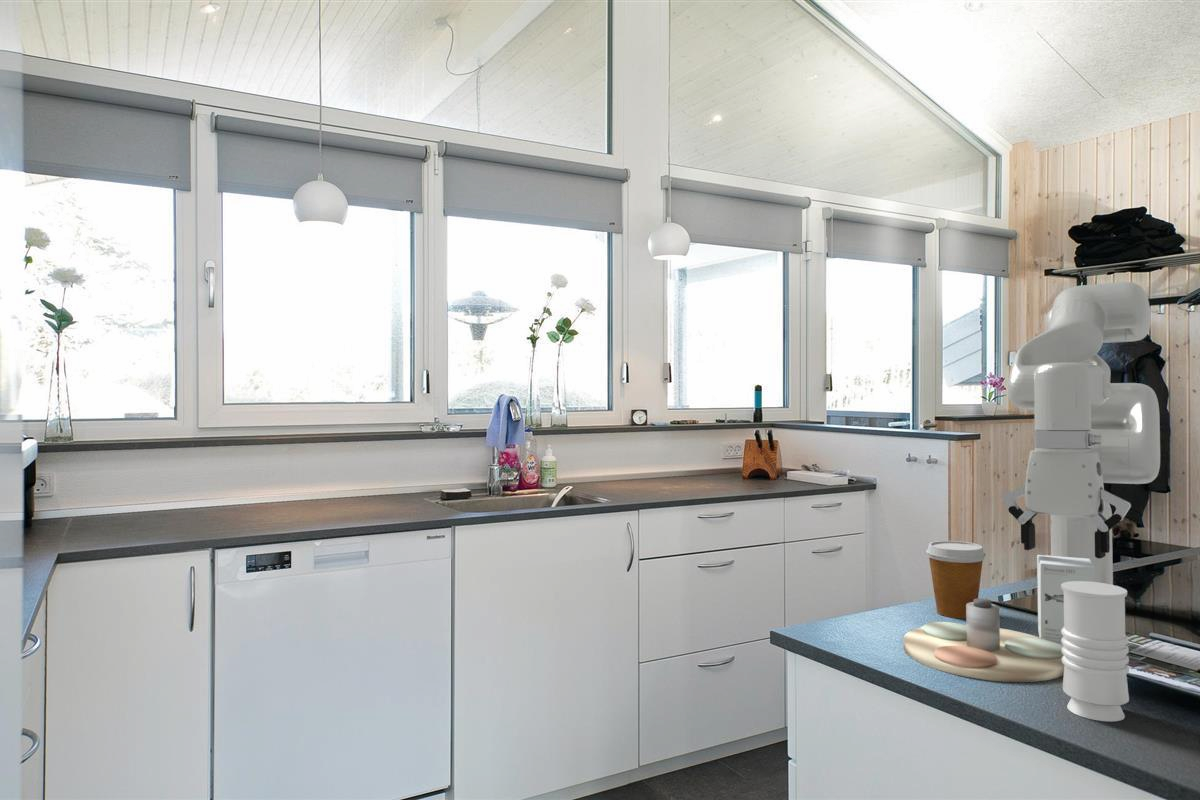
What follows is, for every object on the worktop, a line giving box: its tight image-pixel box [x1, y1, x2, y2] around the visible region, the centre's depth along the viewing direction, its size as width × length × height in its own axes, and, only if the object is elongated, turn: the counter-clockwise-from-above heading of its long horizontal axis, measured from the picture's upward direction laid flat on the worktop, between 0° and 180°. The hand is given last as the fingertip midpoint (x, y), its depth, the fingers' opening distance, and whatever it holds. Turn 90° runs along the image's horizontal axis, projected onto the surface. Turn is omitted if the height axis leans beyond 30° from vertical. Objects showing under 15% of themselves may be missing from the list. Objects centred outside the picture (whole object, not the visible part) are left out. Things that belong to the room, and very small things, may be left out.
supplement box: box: [1036, 554, 1095, 646], centre depth 119 cm, size 7×7×13 cm
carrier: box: [903, 597, 1064, 683], centre depth 113 cm, size 22×22×8 cm
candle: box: [1061, 581, 1130, 722], centre depth 93 cm, size 7×7×15 cm
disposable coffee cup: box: [925, 540, 987, 619], centre depth 134 cm, size 10×10×12 cm
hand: (1064, 552), depth 118 cm, fingers open, 9 cm apart
